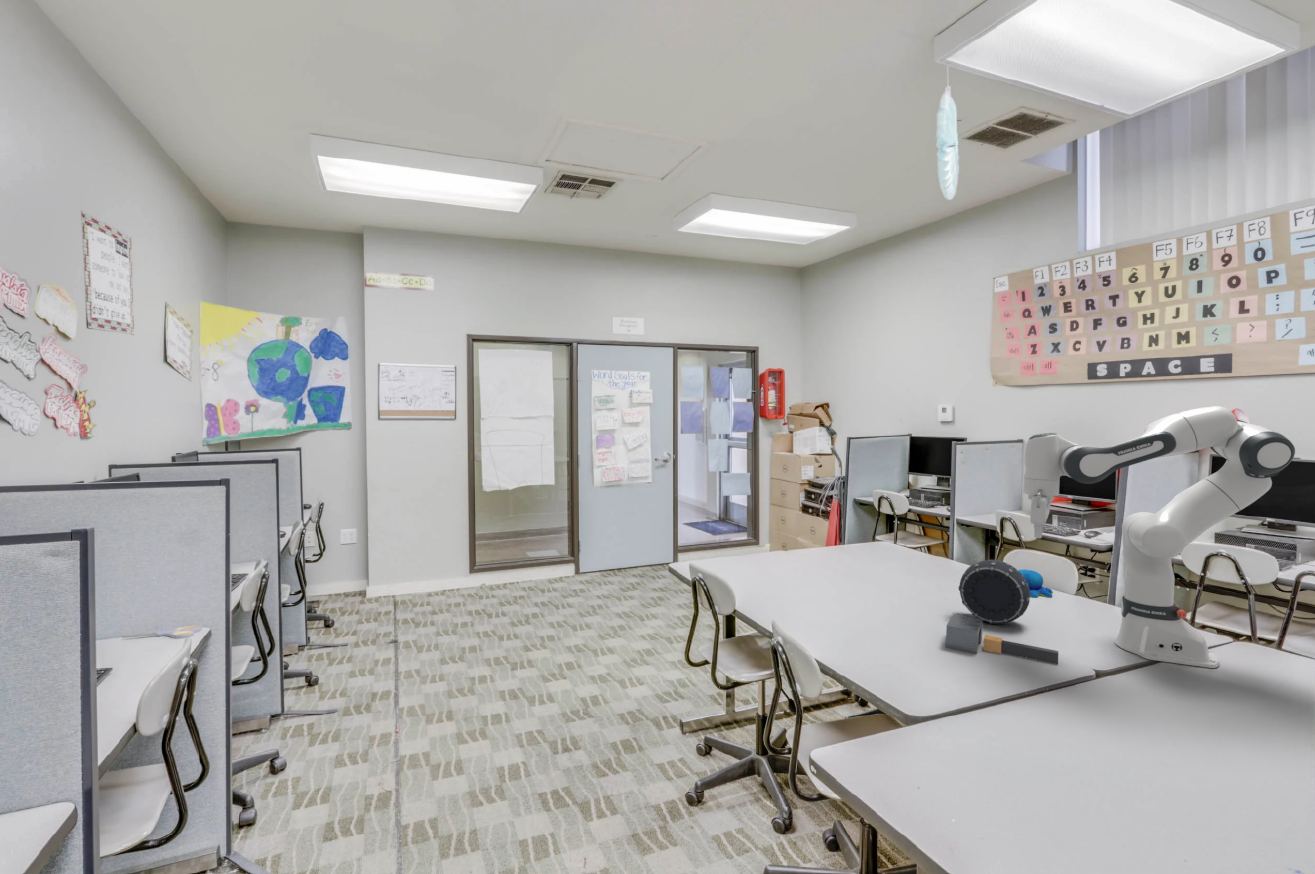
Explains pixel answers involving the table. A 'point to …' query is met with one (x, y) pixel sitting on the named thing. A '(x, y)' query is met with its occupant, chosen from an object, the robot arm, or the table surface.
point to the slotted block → (964, 633)
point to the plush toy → (1035, 584)
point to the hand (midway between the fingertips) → (1039, 535)
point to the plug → (1019, 649)
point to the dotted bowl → (994, 591)
